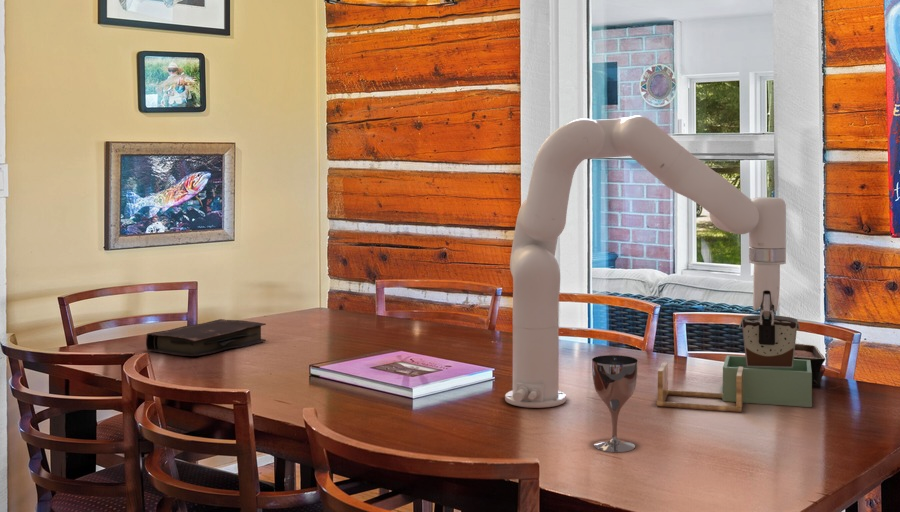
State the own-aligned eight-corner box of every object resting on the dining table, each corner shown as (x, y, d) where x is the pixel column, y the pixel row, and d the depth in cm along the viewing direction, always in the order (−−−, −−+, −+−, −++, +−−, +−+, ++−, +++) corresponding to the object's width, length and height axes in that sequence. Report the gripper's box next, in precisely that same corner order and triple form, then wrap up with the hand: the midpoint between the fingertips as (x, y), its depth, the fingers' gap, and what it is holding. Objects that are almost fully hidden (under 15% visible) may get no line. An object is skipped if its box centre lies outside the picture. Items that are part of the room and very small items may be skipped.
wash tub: (811, 407, 195) (811, 372, 195) (722, 401, 199) (722, 367, 199) (810, 392, 207) (810, 359, 207) (726, 387, 212) (726, 355, 212)
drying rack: (741, 412, 190) (741, 377, 190) (656, 406, 195) (657, 371, 195) (743, 399, 201) (743, 365, 201) (663, 393, 206) (663, 360, 206)
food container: (794, 362, 206) (794, 315, 206) (800, 368, 199) (800, 319, 200) (735, 360, 207) (735, 314, 207) (739, 366, 201) (739, 318, 201)
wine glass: (633, 438, 173) (633, 355, 173) (641, 452, 165) (641, 364, 165) (589, 439, 172) (589, 355, 172) (594, 453, 164) (594, 365, 164)
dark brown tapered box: (825, 383, 223) (821, 339, 225) (828, 389, 206) (824, 341, 208) (761, 384, 227) (757, 341, 229) (759, 390, 210) (756, 343, 212)
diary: (145, 351, 248) (145, 331, 249) (218, 335, 270) (218, 317, 270) (196, 359, 239) (196, 338, 239) (268, 342, 261) (268, 323, 261)
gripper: (750, 251, 213) (750, 332, 212) (747, 259, 196) (747, 348, 196) (785, 252, 210) (785, 334, 210) (785, 261, 194) (785, 350, 194)
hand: (767, 340), depth 203 cm, fingers closed on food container, 6 cm apart
